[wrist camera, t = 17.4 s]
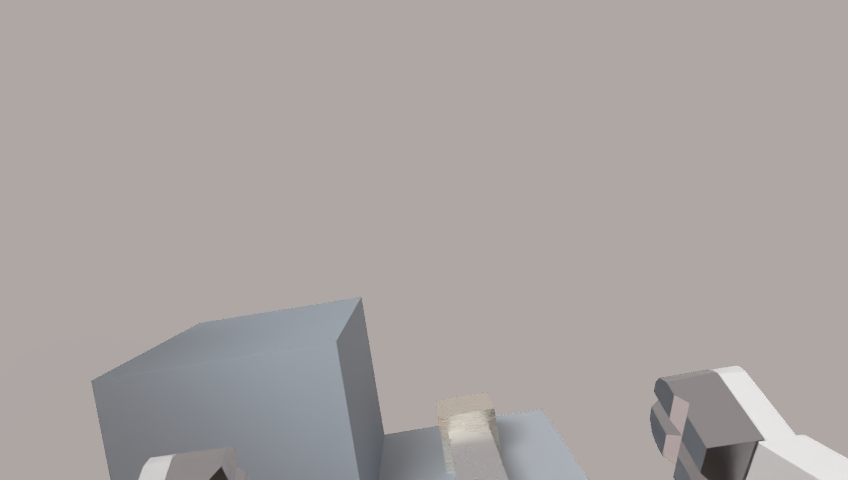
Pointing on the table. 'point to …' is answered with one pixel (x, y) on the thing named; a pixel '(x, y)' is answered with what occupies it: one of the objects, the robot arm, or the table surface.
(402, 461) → the stepped stand
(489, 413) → the long bar
